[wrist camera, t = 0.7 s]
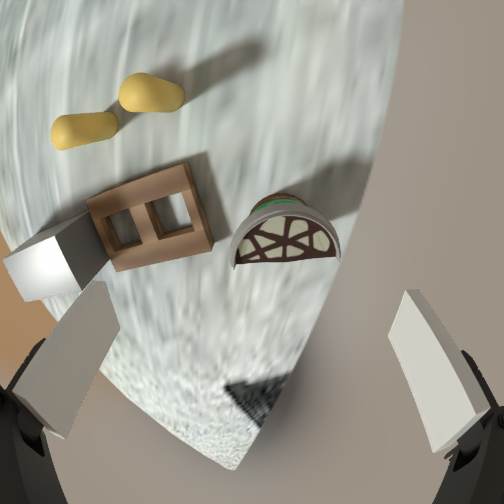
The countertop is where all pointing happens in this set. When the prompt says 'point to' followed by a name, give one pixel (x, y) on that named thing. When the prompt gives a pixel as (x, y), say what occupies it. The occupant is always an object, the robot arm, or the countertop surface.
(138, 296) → the countertop surface
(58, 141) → the peg
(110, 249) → the socket board
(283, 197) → the food container
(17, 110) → the countertop surface
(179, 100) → the peg
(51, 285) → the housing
